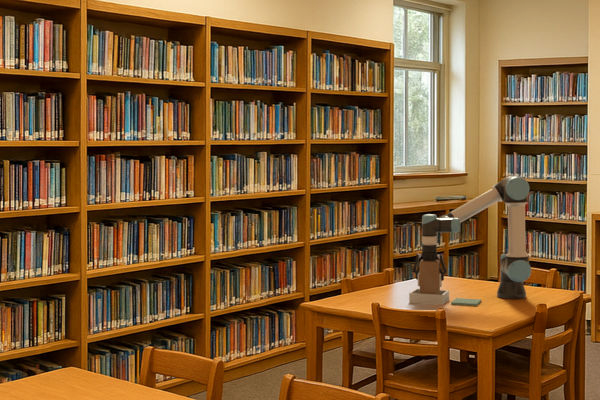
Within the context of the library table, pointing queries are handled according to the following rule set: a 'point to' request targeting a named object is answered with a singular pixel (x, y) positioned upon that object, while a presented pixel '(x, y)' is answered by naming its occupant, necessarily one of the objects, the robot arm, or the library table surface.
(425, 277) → the block
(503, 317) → the library table surface
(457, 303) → the mat
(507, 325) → the library table surface
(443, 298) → the bin
